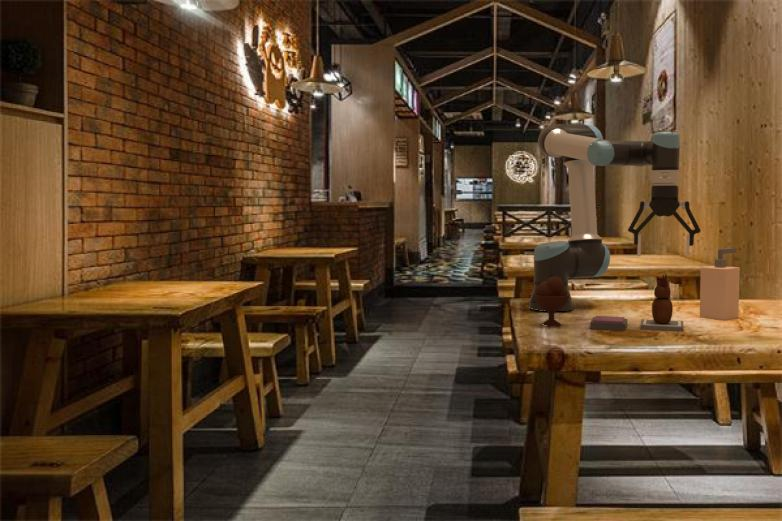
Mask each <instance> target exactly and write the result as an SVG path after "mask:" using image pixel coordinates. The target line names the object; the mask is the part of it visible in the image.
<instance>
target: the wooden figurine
mask: <svg viewBox="0 0 782 521" xmlns="http://www.w3.org/2000/svg"><path fill="white" fill-rule="evenodd" d="M667 277H668V276H667V273H665V275H664V274H663V275H662V277H661V278H660V279H659V281H658V285H657V286H655V287H654V294H653V295H654V297H656V298H654V300H653V301H652V303H651V314H652V319H653V320H654V321H655V322H656V323H659V324H667V323H669V322H670V321H671V320H672V318H673V311H674V310H673V303H672V300H671V299H670V297H671V294H672V293H671V292H672V291H671V288H670V287H669V286H668V278H667Z"/></svg>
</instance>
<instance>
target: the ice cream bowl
mask: <svg viewBox="0 0 782 521" xmlns="http://www.w3.org/2000/svg"><path fill="white" fill-rule="evenodd" d="M570 295H571V293H570V294H568V292H567V290H566V289H565V288H564V283H563V281H562V280H561V279H560V278H558V277H550V278H549V279H548V280H547V281H544V282H542V283H540V284H539V285H538V286H537V288H536V292H535V294H533V296H534V300H535V302H536V304H537V305H538V306H539V307H540V308H542V309H543V310H545V311H547V312H546V313H547V314H548V319H547V320H545V321H543V322H542V324H544V325H547V326H546V327H560V326H561V322H559V321H558V320H556V319H555V314H556V313H557V312H556V311H558V310H560V309H562V308H563V307H564V306H565V305H566V304H567V302H568V300H569V296H570ZM544 325H543V326H544Z"/></svg>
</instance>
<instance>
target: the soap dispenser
mask: <svg viewBox="0 0 782 521" xmlns="http://www.w3.org/2000/svg"><path fill="white" fill-rule="evenodd" d="M734 253H735V254H736V253H737V248H736V247H729V248H719V249H717V258H715V259H714V265H710V266H701V267H700V283H699V285H700V287H699V288H700V289H699V291H700V292H699V295H700V296H699V318H702V317H704V318H703V319H710V318H711V320H712V319H713V320H719V321H728V320H733V319H738V318H739V310H740V307H739V306H740V305H739V304H740V303H739V302H740V275H741V274H740V273H741V270H740V269H741V267H737V266H728V265H727V258H724V255H728V254H734Z"/></svg>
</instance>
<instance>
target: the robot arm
mask: <svg viewBox="0 0 782 521" xmlns="http://www.w3.org/2000/svg"><path fill="white" fill-rule="evenodd" d="M602 134H603V133H601V131H600V129H598V128H597V127H596V126H595V125H591V124H584V123H583V124H561V123H560V124H559V123H558V124H552V125H549V126H547V127H545V128H544V129H543V130H542V131H541V132H540V133H539V136H538V139H537V145H538V148H539V150H540V152H541V153H542V154H543V155H544V156H547V157H549V158H550V157H551V158H557V159H558V158H561V159H563V165H564V166H565V167H567V169H568V187H569V204H570V206H569V207H570V220H571V222H570V224H571V237H570V238H569V239H568V240H567V241H565V240H562V241H561V240H559V241H550V242H548V241H547V242H543V243H539V244H538V245H536V246H535V247H534V253H533V289H532V291H531V296H530V298H529V301H528V308H529V307H530V308H533V309H538V310H543V309H542V308H540V307H539V306H538V305H537V304H536V302H535V300H534V296H533V294H535V292H536V288H537V286H538V285H539V284H540V283H542V282H544V281H547V280H548V279H549V278H550V277H558V278H560V279H561V280H562V281H563V283H564V288H565V289H566V290H567V292H568V294H570V296H569V300H568V302H567V304H566V305H565V306H564V307H563V308H562V309H560V310H558V311H566V312H570V311H569V310H571V311H573V310H574V301H573V299H572V295H571V292H570V288H569V279H584V278H585V279H586V278H587V279H588V278H589V279H591V278H599V277H601V276H603V275H604V274H605V273H606V272H607V270H608V269H609V266H610V261H611V253H610V249H609V247H608V246H607V245H606V244H604V243H603V238H602V237H601V236H600V235H599V234H598V228H597V227H598V226H597V209H596V208H597V207H596V206H597V205H596V191H595V189H596V188H595V175H594V166H598V167H607V166H608V167H610V166H612V167H613V166H615V167H616V166H619V167H620V166H621V167H622V166H624V167H625V166H626V167H627V166H628V167H631V166H633V167H645V166H646V167H648V166H651V184H652V186H651V189H650V190H651V191H650V192H651V195H650V197H651V198H650V202H647V201H643V200H642V201H640V203H639V207H638V209H637V210H638V211H637V212H636V214H635V216H634V217H633V219H632V221H631V223H630V225H629V226H628V228H627V231H628V232H629V233H631V234H633V244H634V246H637V257H641V256H642V255H641V250H642V234H641V233H640V232H641V231H642V230H643V229H644V227H645V226H647V225H648V223H649V222H650V221H651V220H652V219H653V218H654V217H655V216H657V217H672V216H673V217H675V220H677V221H678V223H680V225H681V226H682V227H683V228H684V229H685V230H686V232H687V233H688V234H686V246H685V247H686V250H685V251H686V252H685V257H686V258H690V247H692V246H694V243H695V242H694V240H695V238H694V237H695V235H696V234H699V233H701V231H702V230H701V228H700V226H699V225H698V222H697V221H696V218H695V216H694V214H693V212H692V211H691V208H690V202H689V200H688V201H687V200H686V201H681V202H680V201H679V186H678V185H677V184H679V176H680V168H679V167H680V149H681V145H680V144H681V143H680V134H679V133H678V132H677V131H659V132H658V131H657V132H655V133H653V134H652V140H609V139H604V138H603V135H602ZM648 207H650V209H651V210H652V212H651V213H650V214H649V215H648V216H647V217H646V218H645V219H644V220H643V221H642V223H640V225H639V226H638V227H637V228H636V229H635V226H636V224H637V223H638V221H639V220H640V218H641V216H642V214H643V212H644V210H645V209H647V208H648ZM679 207H681V208H682V210H685V212H686V214H687V216H688V218H689V220H690V222H691V224H692V226H693V228H694V229H692V228H691V227H690V225H689V224H687V222H686V221H685V220H684V218H683V217H682V216H681V215H680V214H679V213H678V212H677V210H678V209H679Z"/></svg>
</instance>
